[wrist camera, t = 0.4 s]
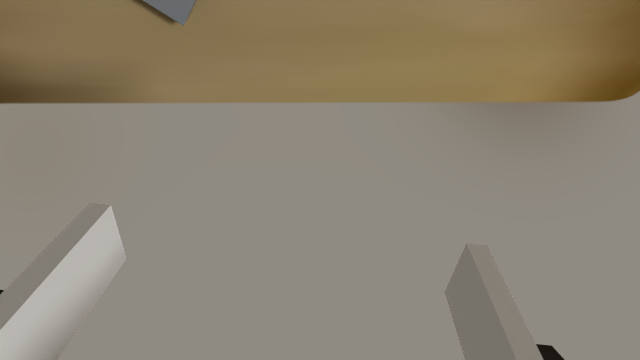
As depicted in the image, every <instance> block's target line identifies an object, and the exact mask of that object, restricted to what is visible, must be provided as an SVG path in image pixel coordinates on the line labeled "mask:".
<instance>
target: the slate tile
mask: <svg viewBox="0 0 640 360" xmlns="http://www.w3.org/2000/svg"><path fill="white" fill-rule="evenodd" d="M143 1H145V2H146V3H148V4H149V5H151V6H153V7H154V8H156V9H157V10H159V11H161V12H162V13H164V14H165V15H167V16H169V17H170V18H172V19H173V20H175V21H177V22H178V23H180V24H181V25H183V26H184V24H185V22H186V20H187V19H188V17H189V15H190V13H191V11H192V9H193V7H194V5H195V3H196V0H143Z"/></svg>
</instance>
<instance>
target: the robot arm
mask: <svg viewBox="0 0 640 360" xmlns="http://www.w3.org/2000/svg"><path fill="white" fill-rule="evenodd" d="M125 260H126V256H125V252H124V249H123V245H122V242H121V239H120V235H119V232H118V228H117V225H116V221H115V218H114V214H113V211H112V208H111V205H105V204H95V203H89V204H88V205H87V206H86V207H85V208H84V209H83V210H82V211H81V212H80V213H79V214H78V216H76V217H75V219H74V220H73V221H72V222H71V223H70V224H69V225H68V226H67V227H66V228H65V229H64V230H63V231H62V232H61V233H60V234H59V235H58V236H57V237H56V238H55V239H54V240H53V241H52V242H51V243H50V244H49V245H48V246H47V247H46V248H45V249H44V250H43V251H42V252H41V253H40V254H39V255H38V256H37V257H36V259H34V261H33V262H32V263H31V264H30V265H29V266H28V267H27V268H26V269H25V270H24V271H23V272H22V273H21V274H20V275H19V276H18V277H17V278H16V279H15V280H14V281H13V282H12V283H11V284H10V285H9V286H8V287H7V288H6V289H5V290H0V360H57V359H58V357H59V356H60V355H61V353H62V352H63V350H64V349H65V347H66V346H67V344H68V343H69V341H70V340H71V339H72V337H73V336H74V334H75V333H76V331H77V330H78V328H79V327H80V325H81V324H82V322H83V321H84V320H85V318H86V317H87V315H88V314H89V312H90V311H91V309H92V308H93V306H94V305H95V304H96V302H97V301H98V299H99V298H100V296H101V295H102V293H103V292H104V290H105V289H106V287H107V286H108V285H109V283H110V282H111V280H112V279H113V277H114V276H115V274H116V273H117V271H118V270H119V268H120V267H121V266H122V264H123V263H124V261H125ZM445 294H446V297H447V301H448V304H449V307H450V311H451V314H452V317H453V321H454V324H455V327H456V330H457V334H458V337H459V340H460V343H461V347H462V350H463V353H464V357H465V360H564V359H563V358H562V357H561V355H560V354H559V353H558V352H557V351H556V350H555V349H554V348H553V347H552V346H548V345H538V344H536V343H535V341H534V339H533V337H532V335H531V333H530V331H529V329H528V327H527V325H526V323H525V321H524V319H523V317H522V315H521V313H520V311H519V309H518V307H517V305H516V303H515V301H514V299H513V297H512V295H511V293H510V291H509V289H508V287H507V285H506V283H505V281H504V279H503V277H502V274H501V272H500V271H499V268H498V267H497V264H496V262H495V260H494V258H493V256H492V254H491V252H490V250H489V248H488V247H487V245H477V244H468V243H467V244H466V246H465V248H464V251H463V253H462V255H461V257H460V259H459V262H458V264H457V266H456V268H455V270H454V273H453V275H452V277H451V279H450V282H449V284H448V286H447V288H446V290H445Z"/></svg>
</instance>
